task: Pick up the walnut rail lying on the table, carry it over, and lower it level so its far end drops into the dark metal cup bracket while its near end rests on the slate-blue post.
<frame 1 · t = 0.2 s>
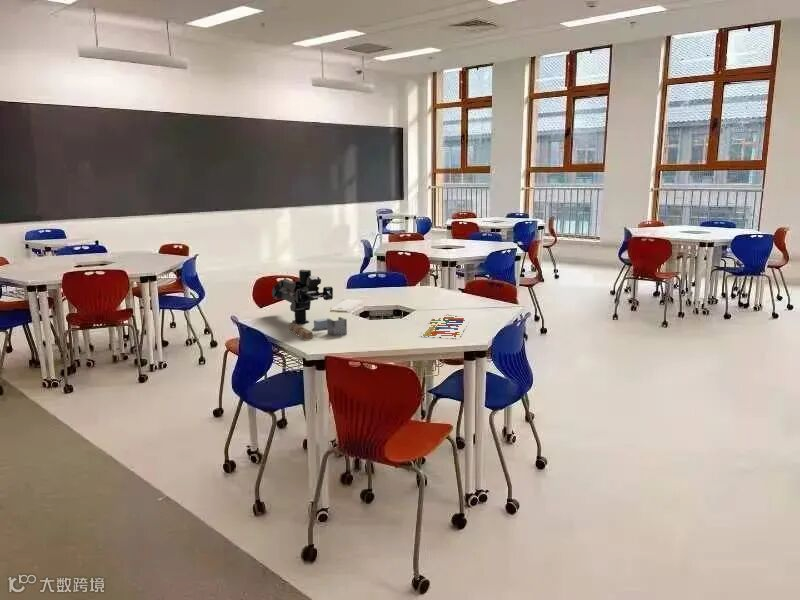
hand: (322, 298, 280), 17 cm above the table, tool horizontal, fingers open, 9 cm apart
support post: (323, 327, 293), on the table
cup bracket: (337, 333, 281), on the table
rail: (301, 335, 279), on the table
baseboard: (348, 307, 343), on the table
multicolored flat board: (446, 328, 295), on the table
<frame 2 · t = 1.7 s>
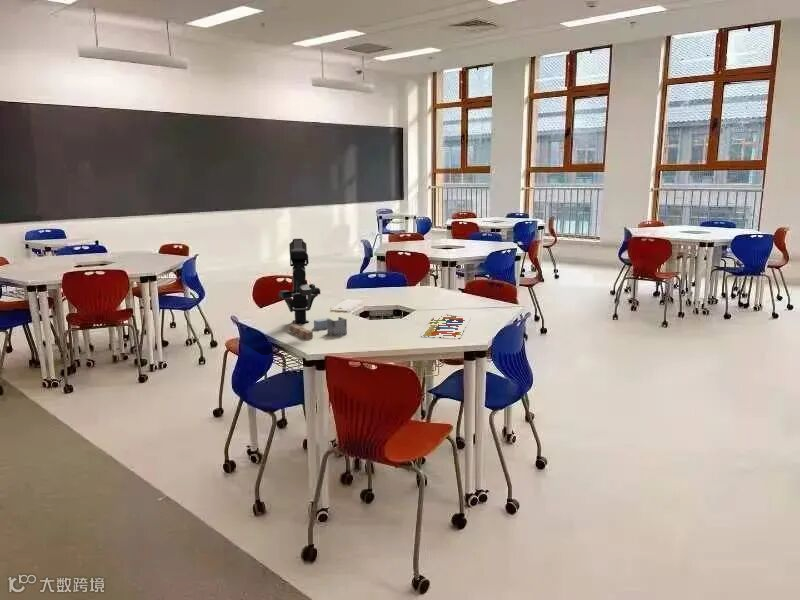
hand: (300, 310, 277), 12 cm above the table, tool pointing down, fingers open, 9 cm apart
nothing on the table moved.
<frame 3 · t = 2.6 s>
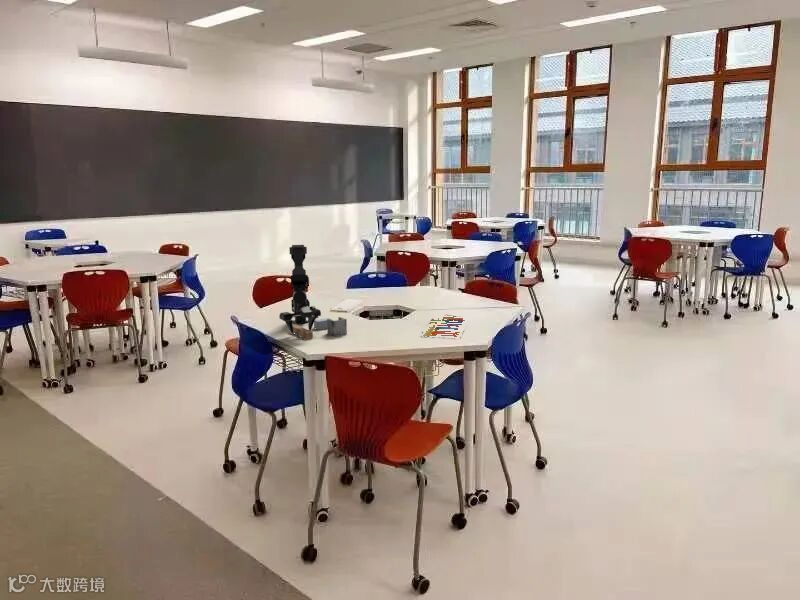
hand: (301, 332, 279), 1 cm above the table, tool pointing down, fingers open, 9 cm apart
nothing on the table moved.
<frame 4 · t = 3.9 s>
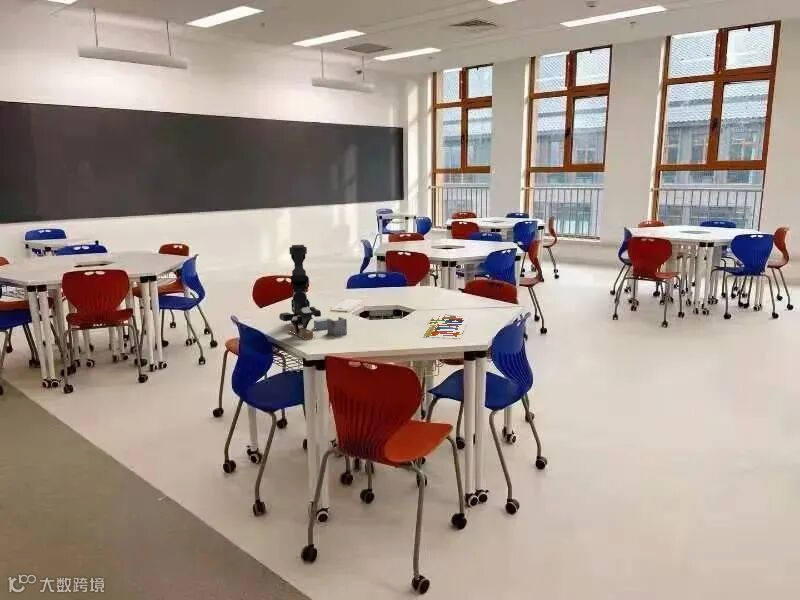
hand: (301, 332, 279), 1 cm above the table, tool pointing down, fingers closed on rail, 3 cm apart
rail: (301, 335, 279), on the table, touching gripper
everything else where it was.
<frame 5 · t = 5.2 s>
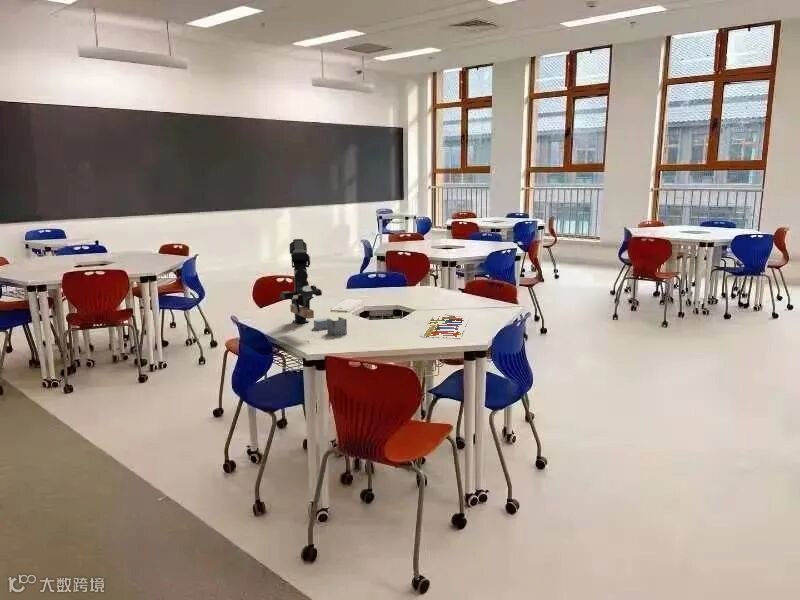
hand: (301, 311, 277), 11 cm above the table, tool pointing down, fingers closed on rail, 3 cm apart
rail: (301, 314, 278), point 10 cm above the table, touching gripper
everything else where it was.
when the fingers open (6 cm above the table, at t = 7.0 s): rail drops 1 cm, resting on cup bracket, support post.
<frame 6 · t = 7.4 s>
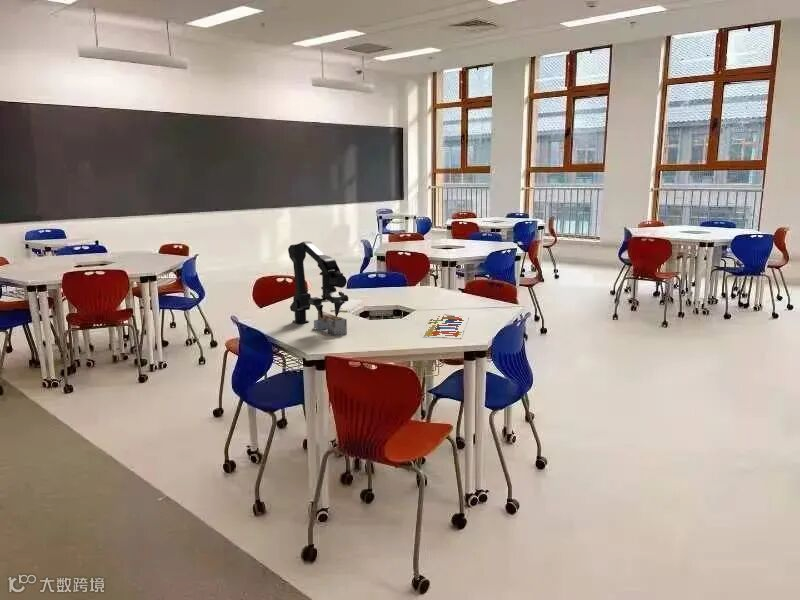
hand: (329, 317, 286), 6 cm above the table, tool pointing down, fingers open, 8 cm apart
rail: (329, 322, 287), point 4 cm above the table, touching cup bracket, support post
everything else where it was.
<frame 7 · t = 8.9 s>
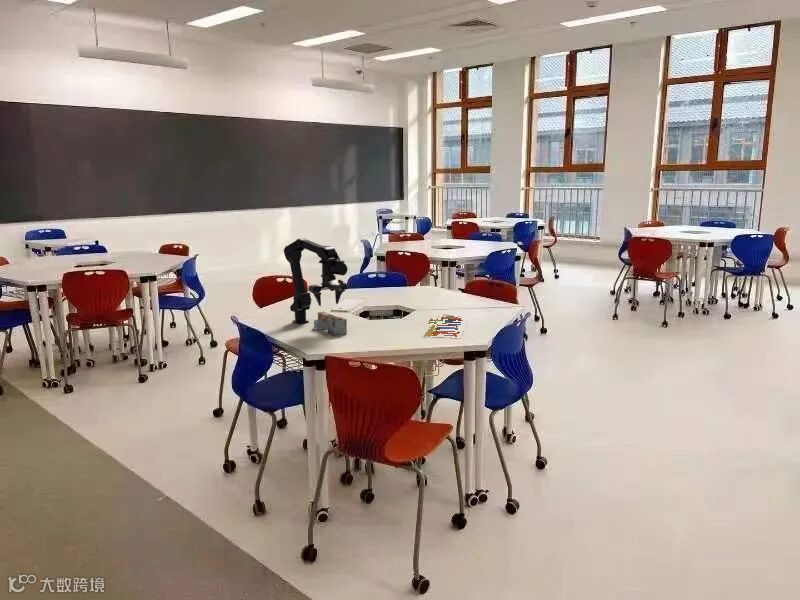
hand: (328, 304, 289), 12 cm above the table, tool pointing down, fingers open, 9 cm apart
nothing on the table moved.
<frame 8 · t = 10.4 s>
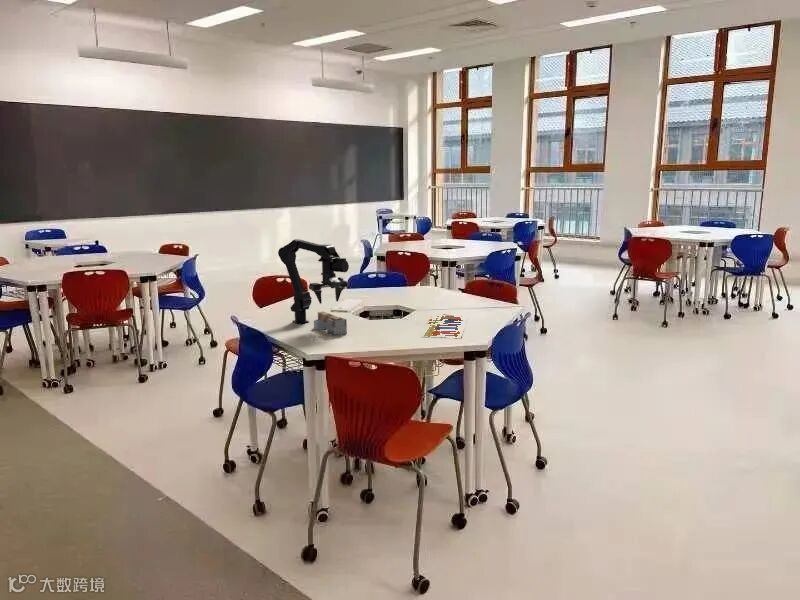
hand: (328, 302, 293), 12 cm above the table, tool pointing down, fingers open, 9 cm apart
nothing on the table moved.
at the end: rail 0.0 cm from the target spot on the cup bracket, point 4.0 cm above the cup bracket's base; rail tilted 0°; the gripper is holding nothing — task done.
